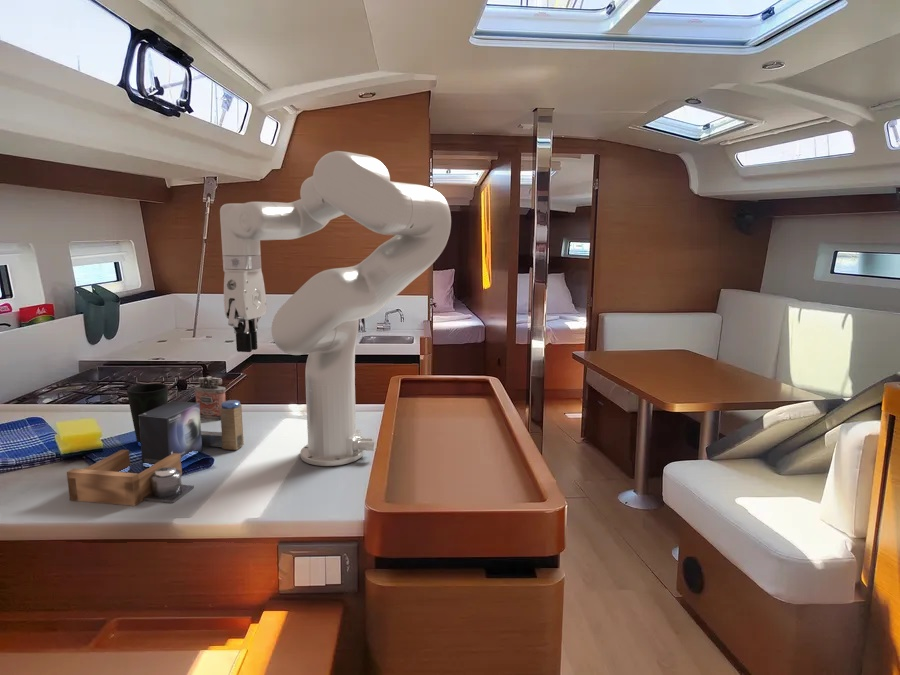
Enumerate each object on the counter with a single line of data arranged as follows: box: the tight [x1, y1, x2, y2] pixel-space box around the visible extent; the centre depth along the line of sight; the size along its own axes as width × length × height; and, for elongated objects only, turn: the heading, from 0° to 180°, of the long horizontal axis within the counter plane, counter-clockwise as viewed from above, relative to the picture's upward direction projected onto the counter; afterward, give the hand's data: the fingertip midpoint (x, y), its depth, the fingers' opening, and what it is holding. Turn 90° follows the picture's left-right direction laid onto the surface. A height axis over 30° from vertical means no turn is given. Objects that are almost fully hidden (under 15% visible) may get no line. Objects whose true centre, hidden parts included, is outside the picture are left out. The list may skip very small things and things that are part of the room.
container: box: [201, 399, 245, 451], centre depth 124 cm, size 14×4×10 cm, turn 81°
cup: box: [126, 382, 169, 443], centre depth 126 cm, size 8×8×12 cm
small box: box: [139, 400, 203, 464], centre depth 117 cm, size 11×6×10 cm, turn 168°
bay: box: [66, 449, 183, 507], centre depth 105 cm, size 12×13×5 cm
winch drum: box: [142, 467, 195, 504], centre depth 102 cm, size 6×6×4 cm
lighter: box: [193, 375, 227, 421], centre depth 143 cm, size 8×3×10 cm, turn 73°
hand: (247, 349), depth 129 cm, fingers closed
